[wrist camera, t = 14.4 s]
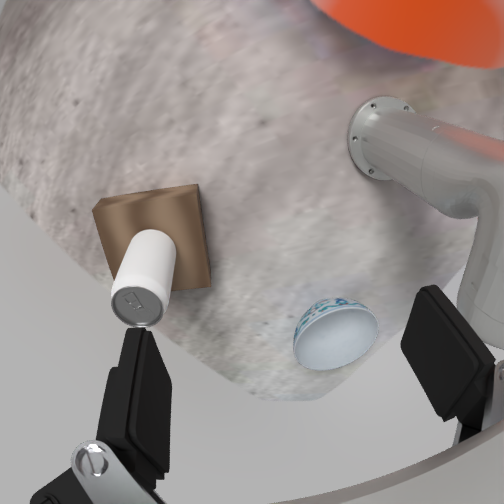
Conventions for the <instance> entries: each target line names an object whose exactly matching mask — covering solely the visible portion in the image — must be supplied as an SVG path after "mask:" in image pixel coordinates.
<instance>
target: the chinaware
mask: <svg viewBox="0 0 504 504" xmlns="http://www.w3.org/2000/svg"><path fill="white" fill-rule="evenodd" d="M378 331H379V323H378V320H377V318H376V316H375V315H374V314H373V313H372V312H371V311H370V310H369V309H368V308H367V307H365V306H364V305H363V304H361V303H359V302H357V301H355V300H352V299H348V298H327V299H322V300H320V301H318V302H316V303H315V304H314V305H313V306H312V307H311V308H310V309H309V310H308V311H307V312H306V313H305V314H304V315H303V317H302V318H301V320H300V321H299V323H298V325H297V328H296V331H295V335H294V355H295V358H296V360H297V361H298V362H299V363H300V364H301V365H302V366H304V367H306V368H308V369H312V370H320V371H323V370H332V369H336V368H340V367H342V366H345V365H347V364H349V363H351V362H353V361H355V360H356V359H358V358H359V357H361V356H362V355H363V354H364V353H365V352H367V351H368V349H369V348H370V347H371V346H372V345H373V343H374V341H375V340H376V338H377V335H378Z"/></svg>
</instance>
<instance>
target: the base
mask: <svg viewBox="0 0 504 504" xmlns="http://www.w3.org/2000/svg"><path fill="white" fill-rule="evenodd" d="M92 212H93V216H94V219H95V223H96V226H97V230H98V233H99V236H100V240H101V243H102V246H103V249H104V252H105V255H106V259H107V262H108V265H109V268H110V270H111V273H112V276H113V279H114V281H115V278H116V275H117V273H118V270H119V268H120V265H121V263H122V261H123V258H124V256H125V253H126V251H127V249H128V246H129V244H130V242H131V240H132V239H133V237H134V236H135V235H136V234H137V233H139V232H141V231H144V230H149V229H152V230H158V231H161V232H163V233H165V234H166V235H168V236H169V237H170V238H171V239H172V241H173V242H174V244H175V247H176V259H175V266H174V272H173V279H172V285H171V291H176V290H185V289H195V288H204V287H211V270H210V264H209V258H208V251H207V245H206V238H205V232H204V225H203V218H202V211H201V204H200V197H199V190H198V184H193V185H186V186H178V187H171V188H164V189H157V190H151V191H144V192H138V193H132V194H126V195H120V196H114V197H109V198H103V199H101V200H100V201H99V202H98V203H97V204H96V206H95V207H94V208H93V209H92Z"/></svg>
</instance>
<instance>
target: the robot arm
mask: <svg viewBox="0 0 504 504" xmlns="http://www.w3.org/2000/svg"><path fill="white" fill-rule="evenodd" d="M371 104H372V107H371ZM353 137H354V139H353ZM348 148H349V152H350V155H351V157H352V159H353V161H354V163H355V164H356V166H357V167H358V168H359V169H360V170H361V171H362V172H364V173H365V174H366V175H368V176H369V177H372V178H374V179H377V180H382V181H386V180H395V181H396V182H398V183H399V184H401V185H402V186H404V187H405V188H407V189H408V190H410V191H411V192H413V193H414V194H415V195H417V196H418V197H420V198H421V199H422V200H424V201H425V202H427V203H428V204H429V205H431V206H432V207H434V208H435V209H437V210H438V211H439V212H441V213H443V214H444V215H446V216H448V217H451V218H455V219H468V218H473V217H477V216H478V222H477V227H476V232H475V236H474V241H473V245H472V249H471V252H470V255H469V259H468V262H467V265H466V268H465V271H464V274H463V278H462V281H461V285H460V288H459V291H458V296H457V308H456V307H455V306H454V305H453V304H452V302H451V301H450V300H449V299H448V298H447V297H446V295H445V294H444V293H443V292H442V291H441V290H440V288H439V287H438V286H437V285H430V286H425V287H422V288H421V289H420V290H419V292H418V293H417V294H416V297H415V301H414V304H413V307H412V310H411V313H410V317H409V320H408V323H407V326H406V328H405V331H404V334H403V337H402V340H401V350H402V352H403V354H404V355H405V357H406V358H407V360H408V362H409V364H410V366H411V367H412V369H413V371H414V373H415V375H416V376H417V378H418V380H419V382H420V384H421V386H422V387H423V389H424V391H425V393H426V395H427V397H428V398H429V400H430V402H431V404H432V406H433V408H434V410H435V412H436V414H437V415H438V416H440V417H442V419H443V421H444V422H445V421H447V420H450V419H452V418H454V417H455V416H457V419H458V424H457V430H456V433H455V438H454V442H453V446H452V447H451V448H449V449H447V450H445V451H443V452H441V453H439V454H437V455H434V456H432V457H430V458H428V459H425V460H423V461H421V462H418V463H416V464H414V465H411V466H408V467H406V468H403V469H401V470H398V471H396V472H393V473H390V474H387V475H385V476H382V477H379V478H376V479H373V480H370V481H367V482H364V483H361V484H357V485H354V486H351V487H347V488H343V489H339V490H336V491H332V492H327V493H323V494H319V495H315V496H310V497H305V498H300V499H295V500H290V501H284V502H278V503H272V504H504V360H502V361H500V362H498V364H497V365H495V364H494V362H495V360H496V359H495V358H494V356H493V355H492V354H491V352H490V351H489V349H488V348H487V347H486V345H485V344H484V343H486V344H489V345H491V346H493V347H496V348H499V349H503V350H504V141H503V140H499V139H495V138H492V137H489V136H486V135H483V134H480V133H477V132H474V131H471V130H468V129H465V128H462V127H459V126H456V125H453V124H450V123H447V122H443V121H440V120H437V119H434V118H430V117H427V116H423V115H419V114H416V112H415V111H414V110H413V108H412V107H411V106H410V105H409V104H407V103H406V102H404V101H403V100H400V99H398V98H395V97H389V96H380V97H375V98H373V99H370V100H368V101H367V102H365V103H364V104H363V105H362V106H361V107H360V108H359V109H358V110H357V111H356V113H355V114H354V116H353V118H352V120H351V122H350V125H349V130H348ZM369 169H370V170H369ZM483 342H484V343H483ZM171 397H172V383H171V379H170V376H169V374H168V372H167V369H166V367H165V364H164V362H163V360H162V357H161V355H160V352H159V350H158V347H157V345H156V342H155V339H154V337H153V334H152V332H151V331H146V329H145V327H137V328H128V329H127V331H126V334H125V338H124V343H123V347H122V351H121V355H120V360H119V364H118V367H112V368H111V369H110V372H109V375H108V380H107V384H106V389H105V393H104V398H103V403H102V408H101V413H100V419H99V424H98V430H97V436H96V440H91V441H86V442H83V443H81V444H80V445H79V446H78V447H76V449H75V450H74V452H73V453H72V457H71V468H69V469H68V470H67V471H65V472H64V473H62V474H61V475H60V476H58V477H57V478H56V479H54V480H53V481H52V482H50V483H48V484H47V485H46V486H44V487H43V488H41V489H40V490H38V491H37V492H36V493H35V494H34V495H33V496H32V498H31V500H30V504H167V503H166V502H165V501H164V500H163V499H162V498H161V497H160V496H159V495H158V493H156V491H155V490H154V489H155V488H156V479H158V480H164V473H168V472H169V467H170V466H169V465H170V464H169V463H170V420H171V419H170V418H171Z"/></svg>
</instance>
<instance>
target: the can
mask: <svg viewBox="0 0 504 504" xmlns="http://www.w3.org/2000/svg"><path fill="white" fill-rule="evenodd" d="M175 259H176V247H175V244H174V242H173V241H172V239H171V238H170V237H169V236H168V235H166V234H165V233H163V232H161V231H158V230H152V229H149V230H144V231H141V232H139V233H137V234H136V235H135V236H134V237H133V239H132V240H131V242H130V244H129V246H128V249H127V251H126V253H125V256H124V258H123V261H122V263H121V265H120V268H119V270H118V273H117V275H116V278H115V281H114V283H113V286H112V291H111V297H112V302H111V305H112V309H113V312H114V313H115V315H116V316H117V317H118V318H119V319H120V320H121V321H122V322H124V323H125V324H127V325H130V326H133V327H145V328H146V327H151V326H153V325H155V324H157V323H158V322H159V321H160V320H161V318H162V316H163V314H164V313H165V311H166V310H167V307H168V304H169V299H170V292H171V285H172V279H173V272H174V266H175Z"/></svg>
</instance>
